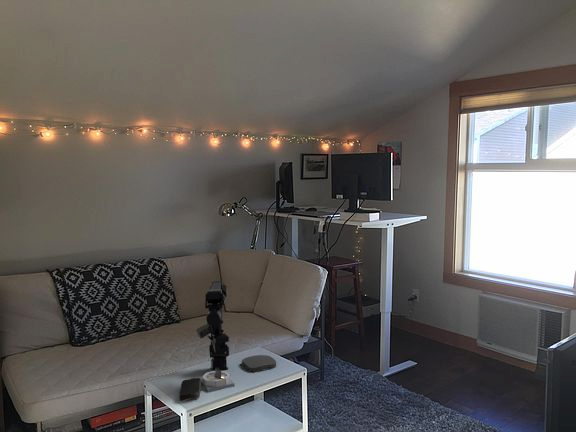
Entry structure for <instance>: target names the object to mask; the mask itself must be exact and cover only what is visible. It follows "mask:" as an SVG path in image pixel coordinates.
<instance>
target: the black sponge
mask: <svg viewBox="0 0 576 432" xmlns="http://www.w3.org/2000/svg"><path fill="white" fill-rule="evenodd" d="M201 379H202V378H200V377H191V378H188V379H184V380H182V381H181V384H180V391H179V397H178V398H179V400H180V401H188V400H193V399H199V398H200V397H201V386H202V385H201Z"/></svg>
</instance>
